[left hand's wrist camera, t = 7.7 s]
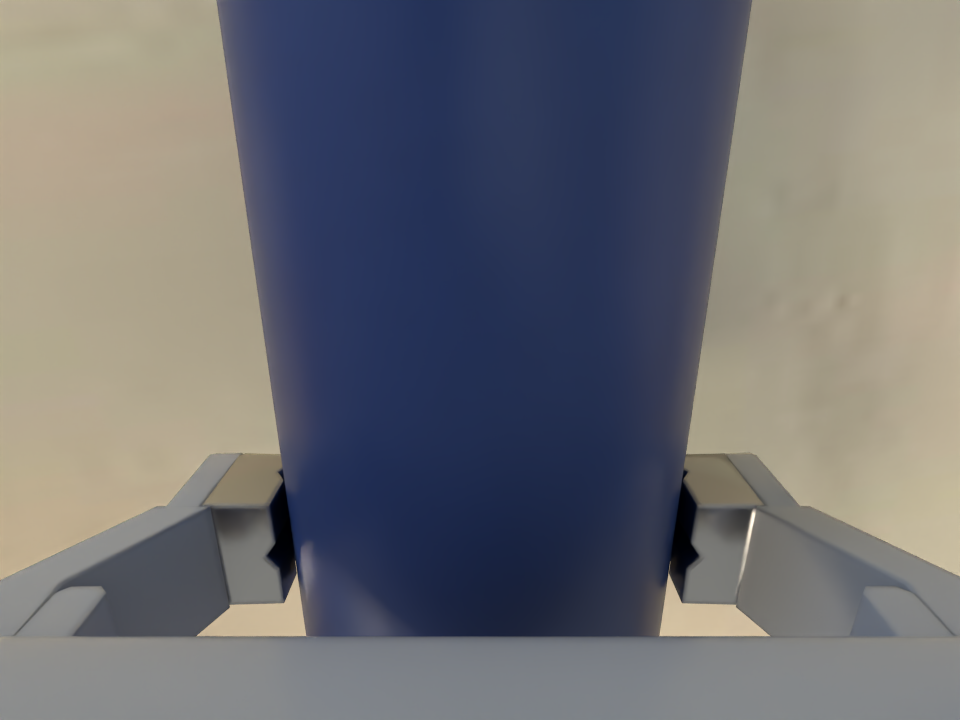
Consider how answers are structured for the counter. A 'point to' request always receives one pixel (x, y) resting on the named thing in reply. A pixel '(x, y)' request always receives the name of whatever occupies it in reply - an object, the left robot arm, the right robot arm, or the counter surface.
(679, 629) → the counter surface
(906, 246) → the counter surface
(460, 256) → the rod
